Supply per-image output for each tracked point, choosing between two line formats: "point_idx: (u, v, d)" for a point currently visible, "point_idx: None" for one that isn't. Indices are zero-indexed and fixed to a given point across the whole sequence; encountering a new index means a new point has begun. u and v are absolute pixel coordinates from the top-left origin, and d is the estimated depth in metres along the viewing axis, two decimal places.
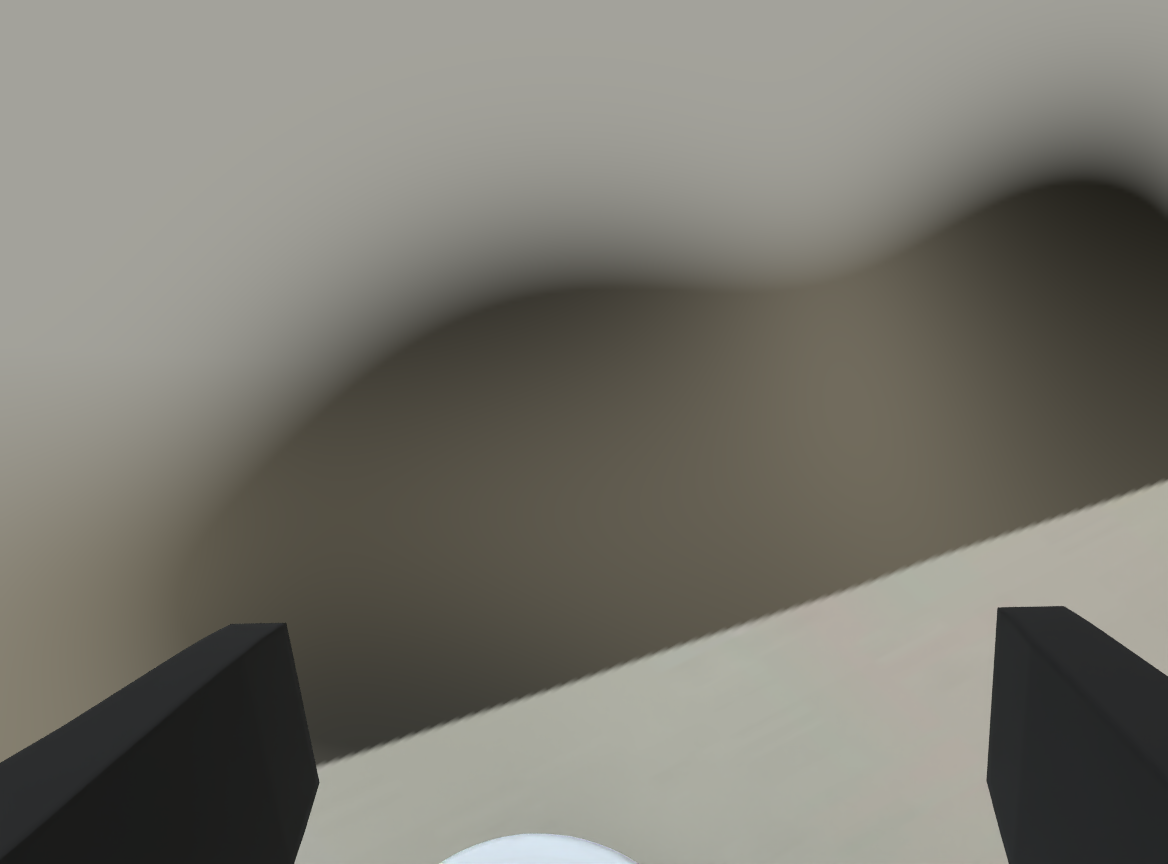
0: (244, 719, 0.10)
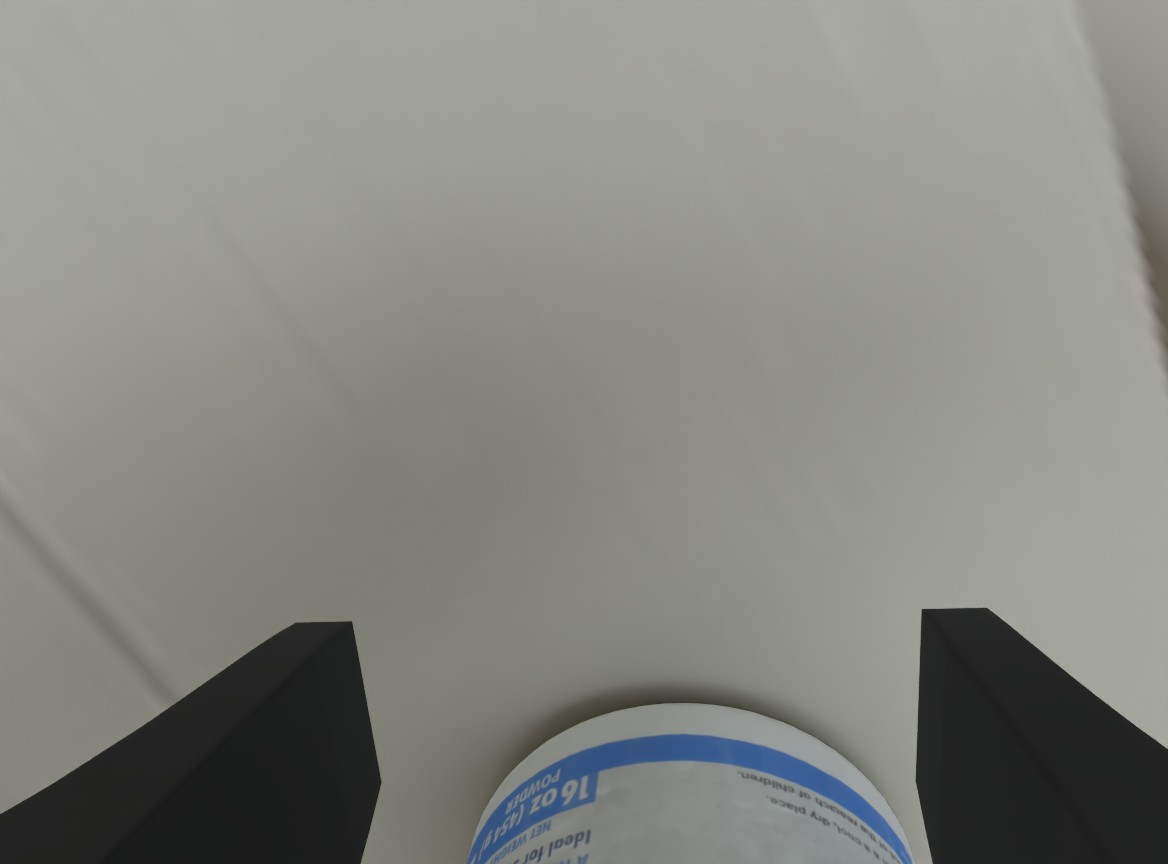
0: (316, 719, 0.10)
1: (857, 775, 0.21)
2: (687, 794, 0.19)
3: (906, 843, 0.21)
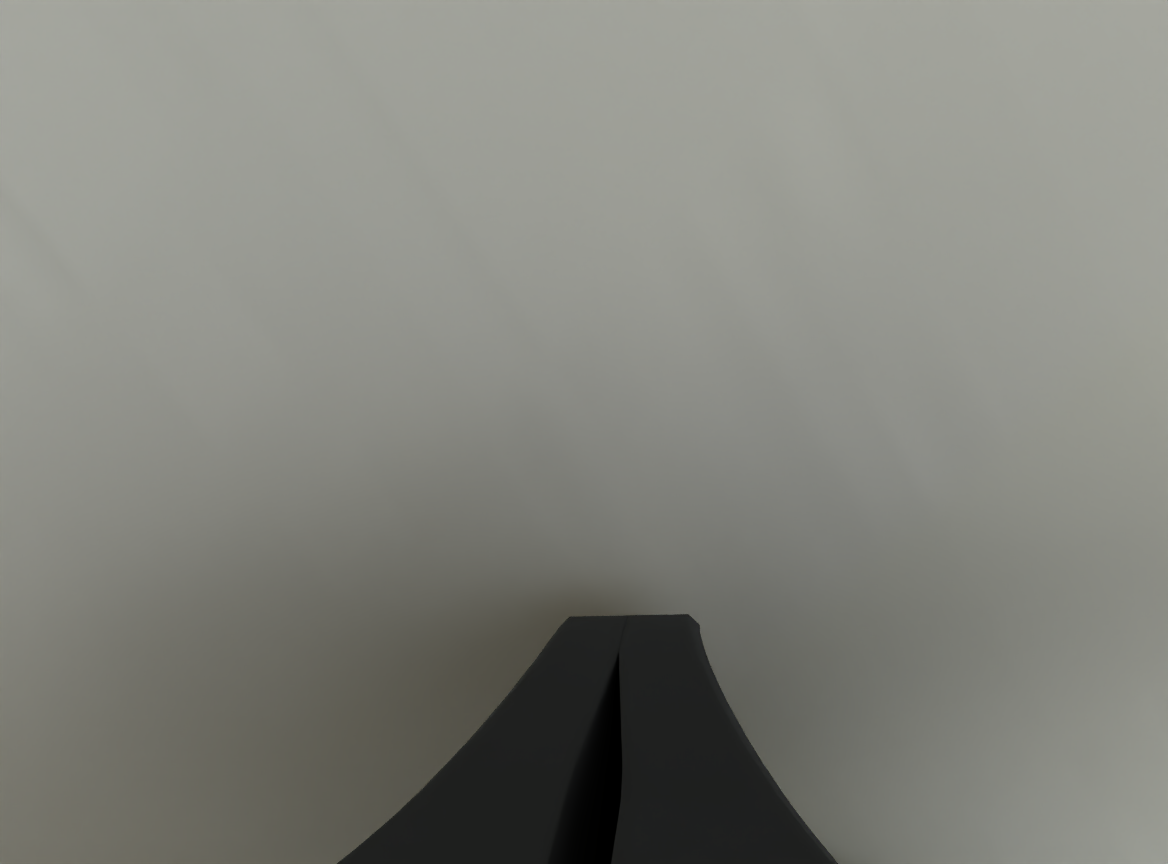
0: None
1: None
2: None
3: None
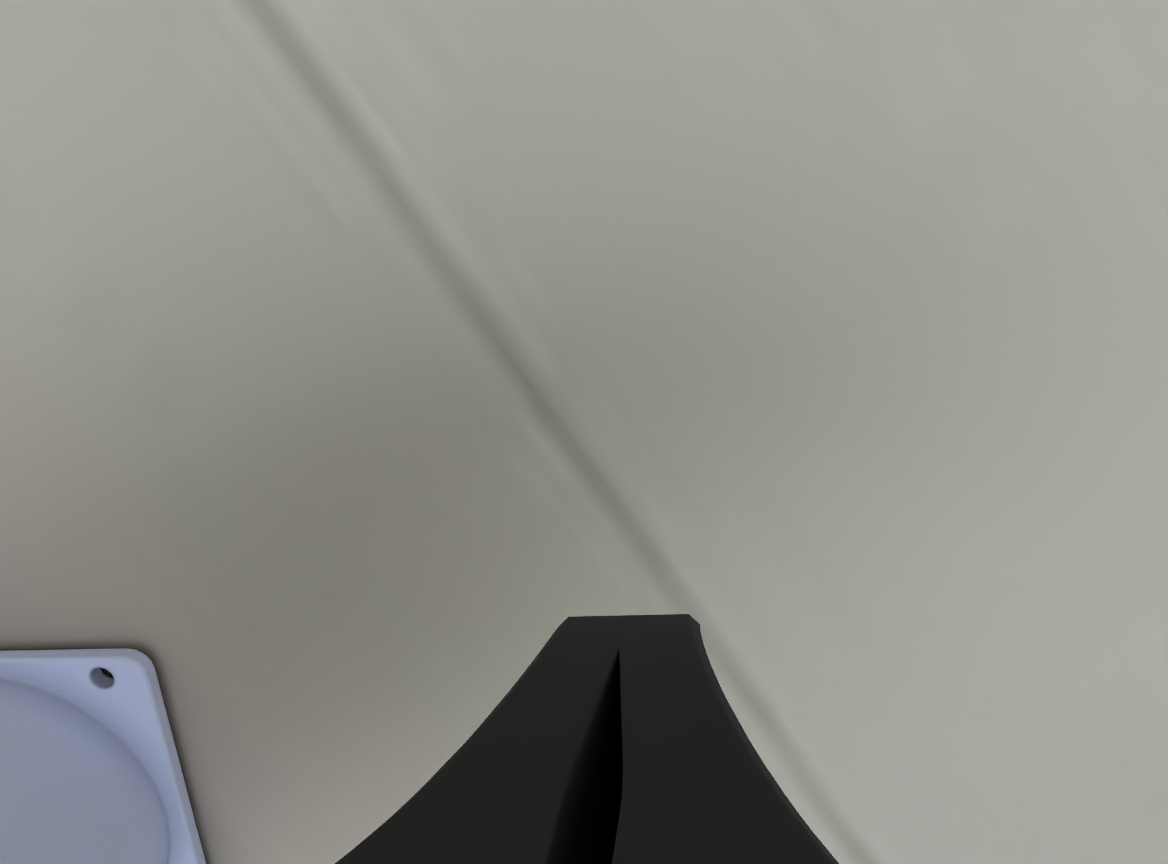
0: (620, 715, 0.09)
1: None
2: None
3: None
